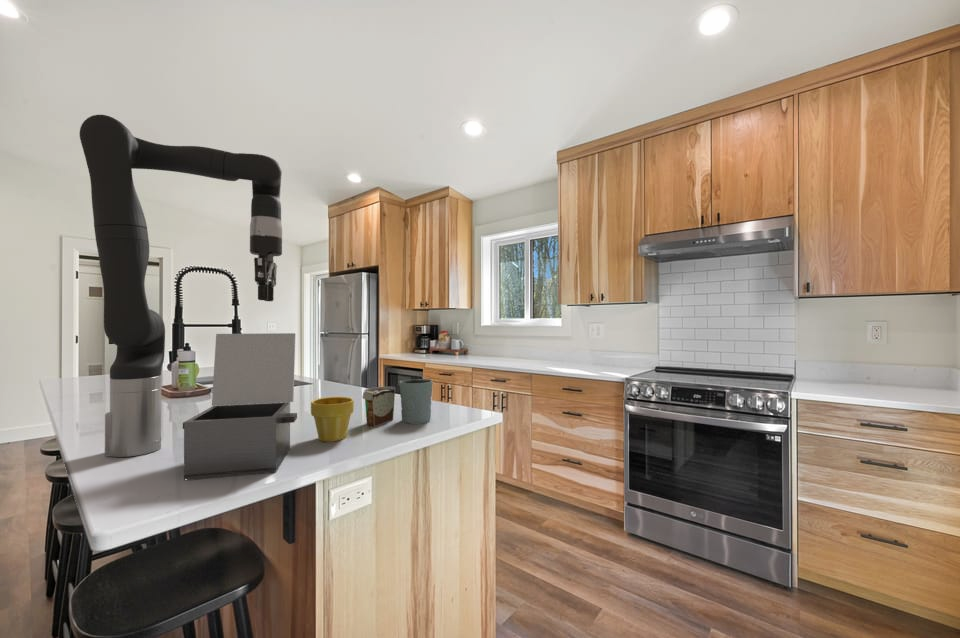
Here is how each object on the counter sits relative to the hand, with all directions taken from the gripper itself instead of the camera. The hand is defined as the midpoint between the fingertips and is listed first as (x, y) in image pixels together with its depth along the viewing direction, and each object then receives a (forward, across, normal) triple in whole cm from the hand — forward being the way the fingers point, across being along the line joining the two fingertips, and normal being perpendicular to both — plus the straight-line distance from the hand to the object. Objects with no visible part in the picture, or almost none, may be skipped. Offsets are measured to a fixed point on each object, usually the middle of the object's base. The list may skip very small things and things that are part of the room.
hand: (265, 300), depth 110 cm
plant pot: (+36, +6, +17) cm, 40 cm away
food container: (+36, -8, +28) cm, 46 cm away
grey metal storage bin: (+35, +21, 0) cm, 41 cm away
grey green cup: (+36, -8, +40) cm, 54 cm away
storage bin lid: (+16, +11, 0) cm, 20 cm away
